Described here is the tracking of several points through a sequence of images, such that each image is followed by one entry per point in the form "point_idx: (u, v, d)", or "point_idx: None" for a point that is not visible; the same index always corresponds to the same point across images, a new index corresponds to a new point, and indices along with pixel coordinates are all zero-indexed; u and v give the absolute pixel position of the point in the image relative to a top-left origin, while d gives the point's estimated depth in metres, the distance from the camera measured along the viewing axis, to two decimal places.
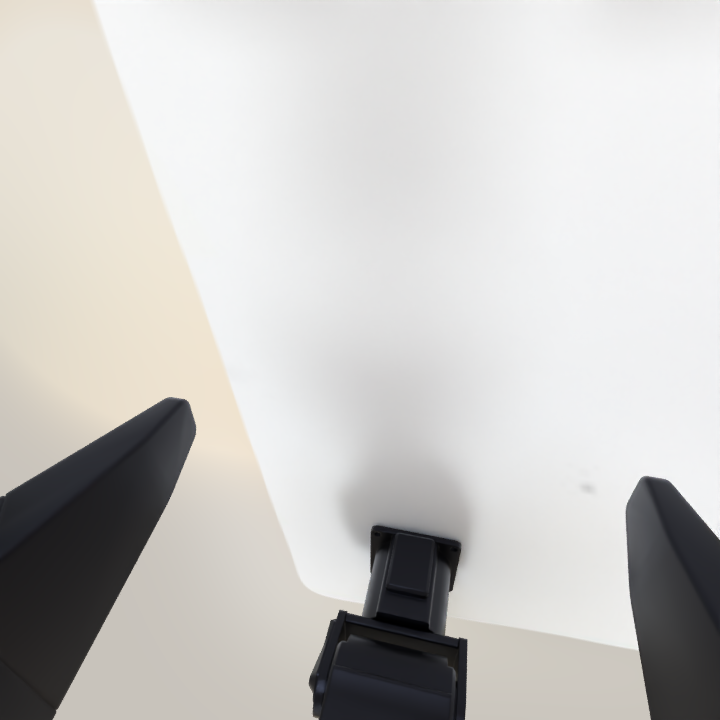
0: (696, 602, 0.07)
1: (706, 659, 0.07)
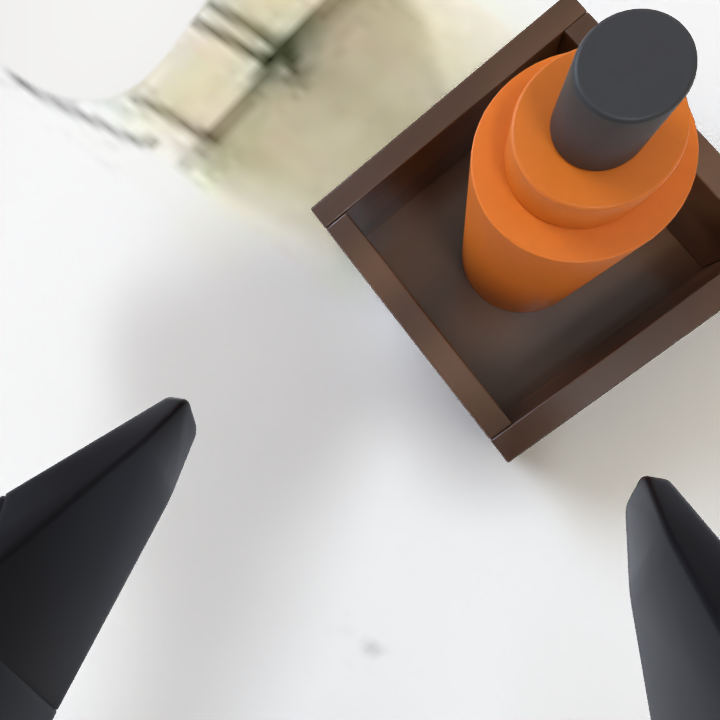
0: (696, 602, 0.07)
1: (706, 659, 0.07)
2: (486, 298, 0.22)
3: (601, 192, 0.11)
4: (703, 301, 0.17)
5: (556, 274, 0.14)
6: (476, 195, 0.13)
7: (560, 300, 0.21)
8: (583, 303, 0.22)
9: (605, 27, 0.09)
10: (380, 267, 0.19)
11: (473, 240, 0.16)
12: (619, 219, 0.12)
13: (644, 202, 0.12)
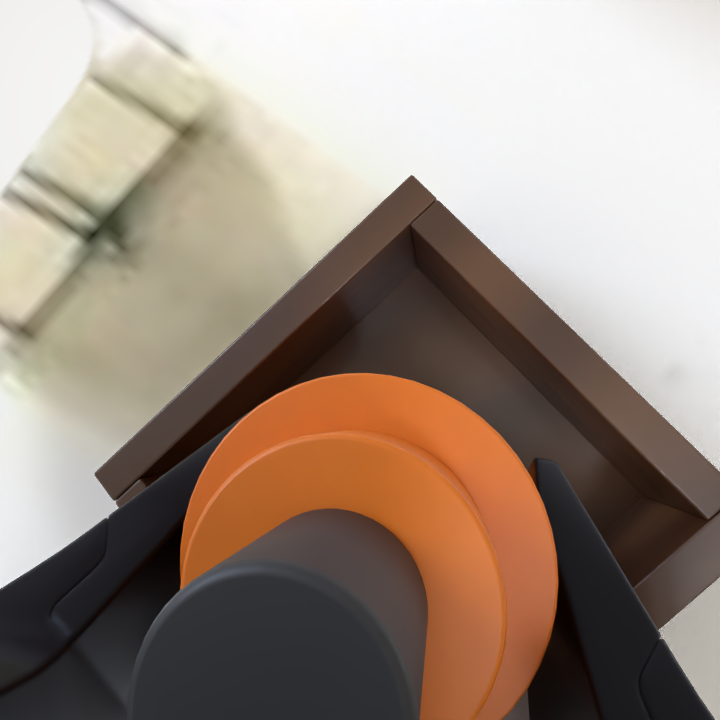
0: None
1: (557, 626, 0.07)
2: None
3: None
4: None
5: None
6: None
7: None
8: None
9: (189, 611, 0.03)
10: None
11: None
12: None
13: None
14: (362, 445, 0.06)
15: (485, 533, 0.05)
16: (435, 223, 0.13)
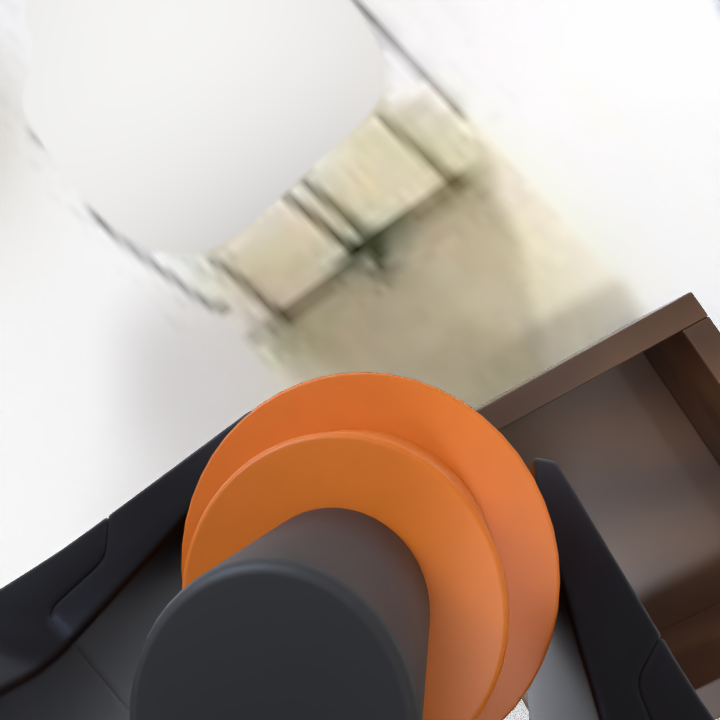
0: None
1: (557, 626, 0.07)
2: None
3: None
4: None
5: None
6: None
7: None
8: (657, 578, 0.21)
9: (192, 611, 0.03)
10: None
11: None
12: None
13: None
14: (364, 444, 0.06)
15: (487, 532, 0.05)
16: (703, 334, 0.18)
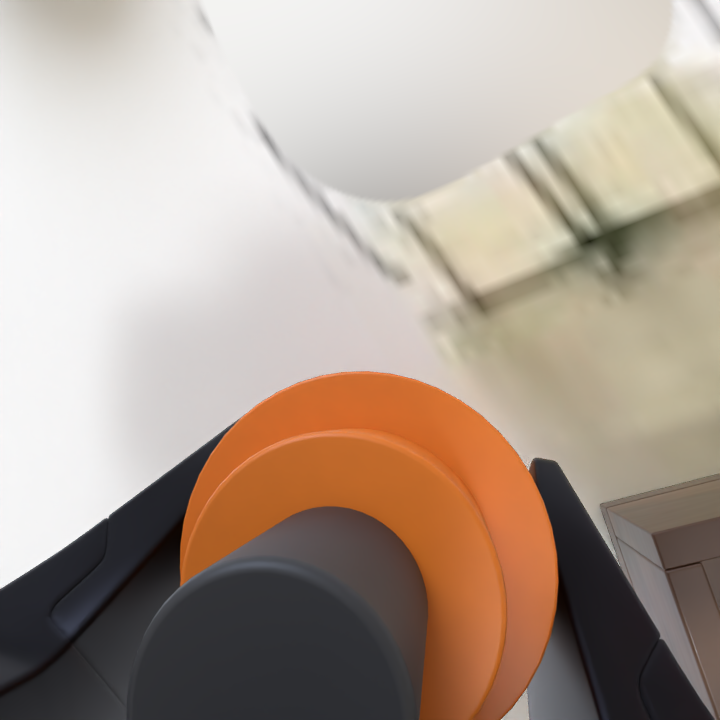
0: None
1: (557, 626, 0.07)
2: None
3: None
4: None
5: None
6: None
7: None
8: None
9: (189, 608, 0.03)
10: None
11: None
12: None
13: None
14: (362, 443, 0.06)
15: (485, 531, 0.05)
16: None
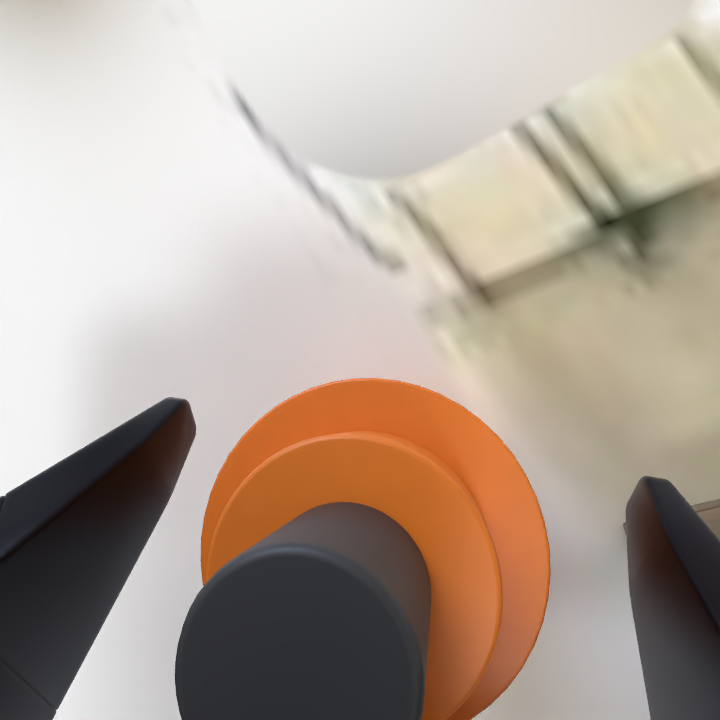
0: (696, 602, 0.07)
1: (706, 659, 0.07)
2: None
3: None
4: None
5: None
6: None
7: None
8: None
9: (229, 587, 0.04)
10: None
11: None
12: None
13: None
14: (372, 445, 0.06)
15: (483, 524, 0.06)
16: None
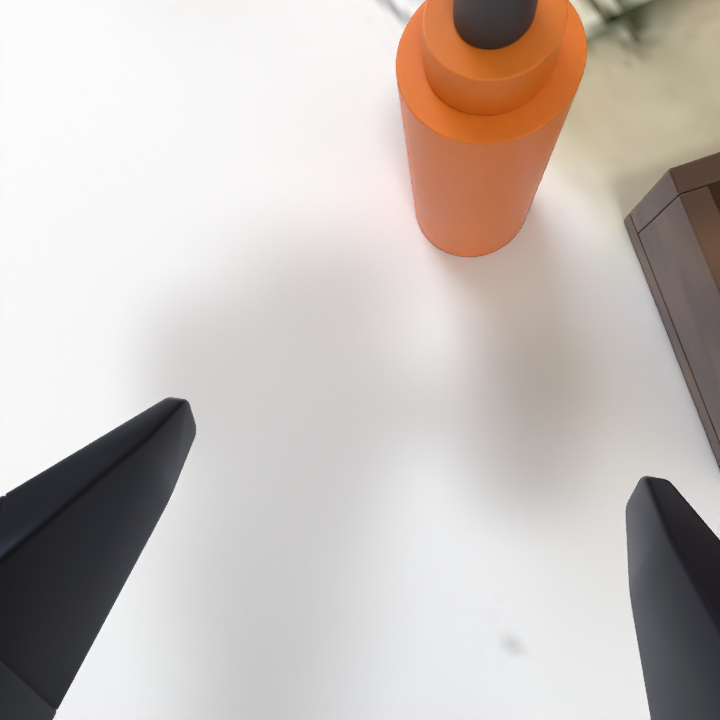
0: (696, 602, 0.07)
1: (706, 659, 0.07)
2: (440, 244, 0.23)
3: (501, 65, 0.13)
4: None
5: (483, 169, 0.15)
6: (403, 98, 0.15)
7: (507, 237, 0.23)
8: None
9: None
10: None
11: (413, 165, 0.18)
12: (526, 103, 0.14)
13: (546, 87, 0.14)
14: None
15: None
16: None
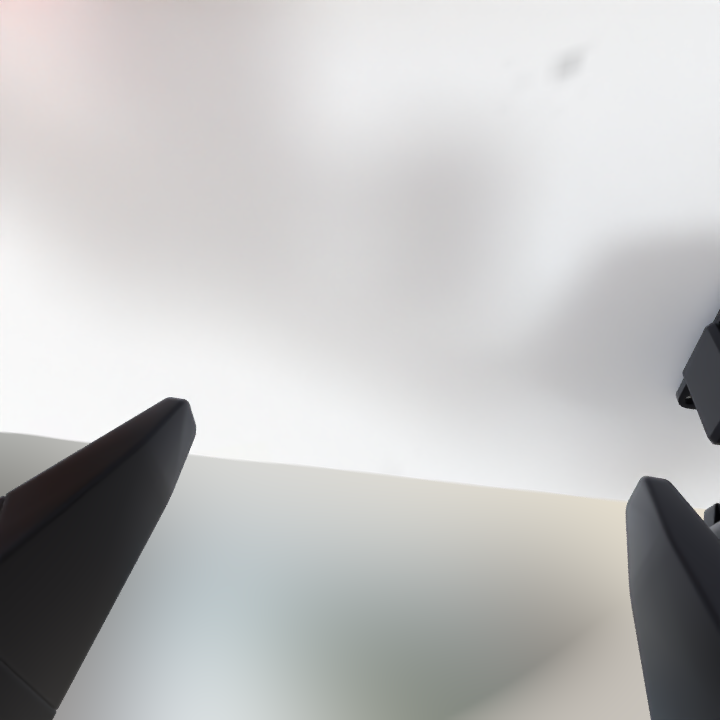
0: (696, 602, 0.07)
1: (706, 659, 0.07)
2: None
3: None
4: None
5: None
6: None
7: None
8: None
9: None
10: None
11: None
12: None
13: None
14: None
15: None
16: None
